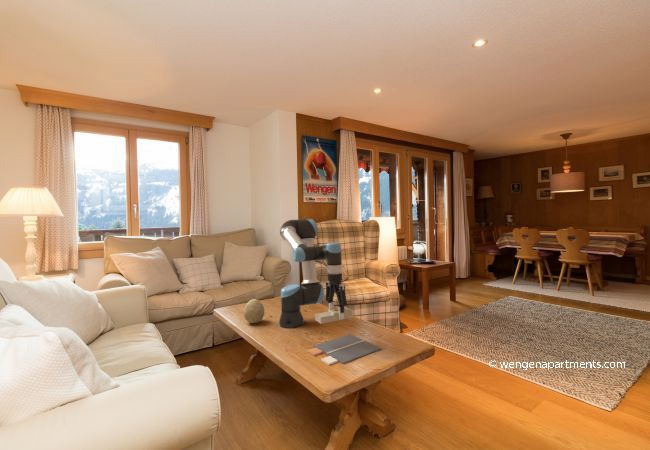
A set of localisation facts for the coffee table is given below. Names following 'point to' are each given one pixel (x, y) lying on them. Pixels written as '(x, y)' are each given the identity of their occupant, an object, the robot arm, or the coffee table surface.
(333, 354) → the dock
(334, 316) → the electrical outlet
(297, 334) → the coffee table surface
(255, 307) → the fossilized egg
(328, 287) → the robot arm
